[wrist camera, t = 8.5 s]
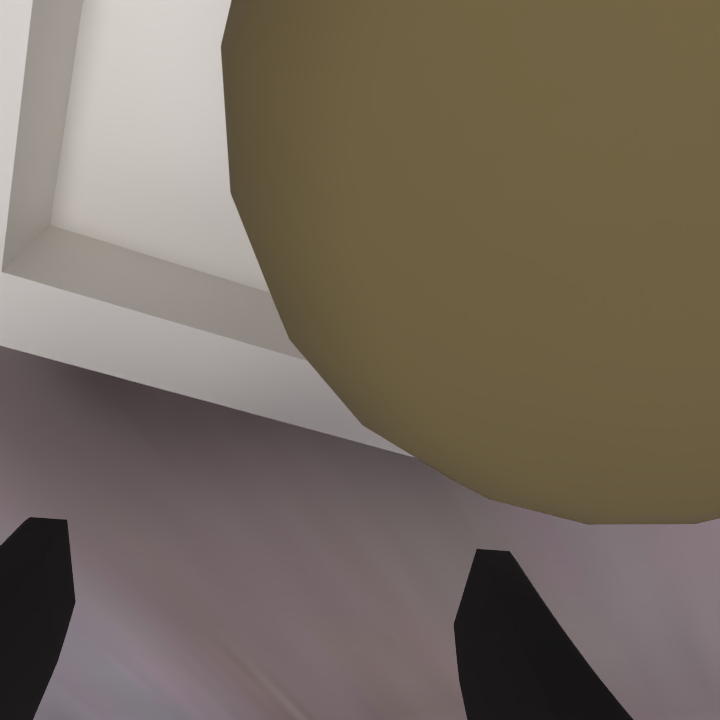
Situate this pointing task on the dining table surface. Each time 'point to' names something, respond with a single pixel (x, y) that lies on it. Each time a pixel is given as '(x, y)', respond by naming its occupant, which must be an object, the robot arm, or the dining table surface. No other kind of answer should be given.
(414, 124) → the cork
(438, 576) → the dining table surface
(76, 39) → the cream tray
